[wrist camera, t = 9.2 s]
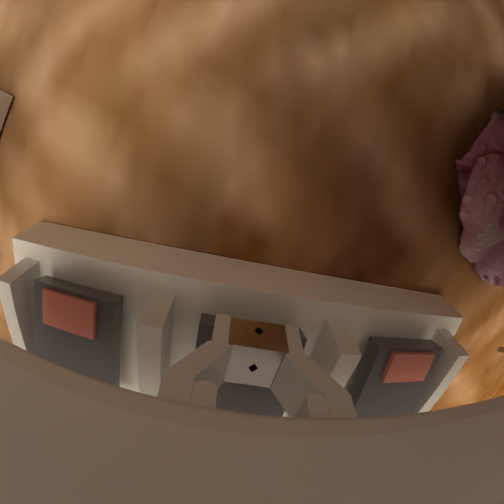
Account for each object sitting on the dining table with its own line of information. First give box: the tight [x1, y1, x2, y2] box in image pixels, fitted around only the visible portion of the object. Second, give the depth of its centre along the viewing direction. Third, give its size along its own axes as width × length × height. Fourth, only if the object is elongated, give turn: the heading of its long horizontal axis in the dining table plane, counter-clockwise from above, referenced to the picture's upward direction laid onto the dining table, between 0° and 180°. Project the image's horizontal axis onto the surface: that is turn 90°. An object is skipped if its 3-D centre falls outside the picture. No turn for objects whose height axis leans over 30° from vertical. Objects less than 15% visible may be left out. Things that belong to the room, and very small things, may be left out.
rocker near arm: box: [346, 336, 443, 418], centre depth 13 cm, size 4×7×2 cm, turn 168°
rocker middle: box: [195, 313, 307, 416], centre depth 12 cm, size 4×7×2 cm, turn 168°
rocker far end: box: [33, 275, 124, 387], centre depth 11 cm, size 4×7×2 cm, turn 168°
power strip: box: [0, 221, 469, 417], centre depth 15 cm, size 33×13×6 cm, turn 78°
